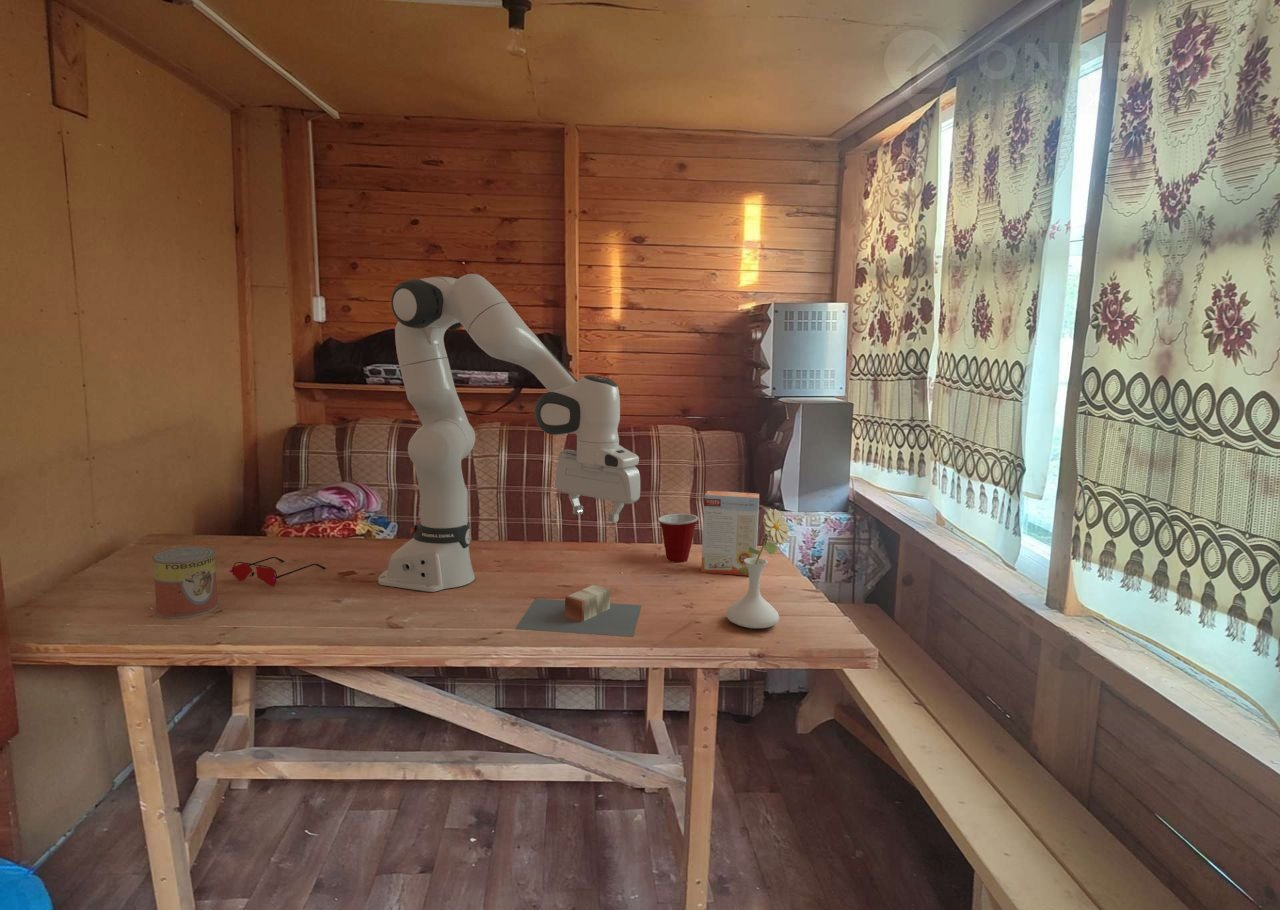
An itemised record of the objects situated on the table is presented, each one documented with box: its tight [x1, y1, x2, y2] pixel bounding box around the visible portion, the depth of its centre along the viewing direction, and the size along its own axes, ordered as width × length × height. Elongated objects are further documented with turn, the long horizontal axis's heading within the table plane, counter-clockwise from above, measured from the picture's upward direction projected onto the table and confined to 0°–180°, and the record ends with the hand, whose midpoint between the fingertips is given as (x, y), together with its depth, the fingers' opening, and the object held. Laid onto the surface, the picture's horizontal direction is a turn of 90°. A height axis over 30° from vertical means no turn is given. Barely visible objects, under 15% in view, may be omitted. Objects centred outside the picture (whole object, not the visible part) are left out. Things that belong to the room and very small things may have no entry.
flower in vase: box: [725, 508, 791, 629], centre depth 160 cm, size 13×11×25 cm
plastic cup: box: [657, 513, 699, 563], centre depth 205 cm, size 11×11×12 cm
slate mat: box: [515, 597, 642, 638], centre depth 161 cm, size 24×18×1 cm
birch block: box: [564, 584, 611, 622], centre depth 162 cm, size 4×4×10 cm
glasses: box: [229, 556, 327, 587], centre depth 184 cm, size 14×16×5 cm
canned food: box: [151, 545, 219, 619], centre depth 159 cm, size 11×11×12 cm
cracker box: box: [701, 490, 760, 577], centre depth 195 cm, size 14×6×21 cm, turn 80°
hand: (595, 517), depth 161 cm, fingers open, 8 cm apart
